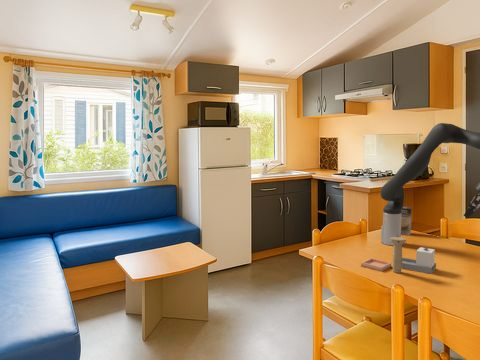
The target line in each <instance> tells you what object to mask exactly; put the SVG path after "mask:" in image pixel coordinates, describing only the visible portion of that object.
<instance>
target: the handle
mask: <svg viewBox="0 0 480 360" xmlns="http://www.w3.org/2000/svg"><path fill="white" fill-rule="evenodd" d="M390 241H391V242H392V243H394V245H393V250H392V262H391V264H392V271H393V273H395V274H400V273H402V269H403V268H402V257H403V244H405V243H406V242H407V239H406V238H405V237H402V236H401V237H391V238H390Z"/></svg>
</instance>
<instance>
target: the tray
mask: <svg viewBox="0 0 480 360" xmlns="http://www.w3.org/2000/svg"><path fill="white" fill-rule="evenodd" d="M360 267H361V268H362V267H363V268H365V269H366V268H367V269H370V270H373V271H378V272H384V271H386V270H388V269H389V268H391V267H392V262H390V261H385V260H381V259H377V258H373V257H369V258H368V259H366V260H363V261H361V264H360Z"/></svg>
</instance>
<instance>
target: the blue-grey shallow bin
mask: <svg viewBox="0 0 480 360" xmlns="http://www.w3.org/2000/svg"><path fill="white" fill-rule="evenodd" d="M436 267H437V263H436V262H434V266H433V267H432V268H429V267H423V266H418V265H416V259H413V258H409V257H408V258H407V257H403V256H402V268H401V269H403V270H407V271H408V270H410V271H415V272H419V273H426V274H431V275H432V274H433V273H434V271H436V269H437V268H436Z"/></svg>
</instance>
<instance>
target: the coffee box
mask: <svg viewBox="0 0 480 360" xmlns="http://www.w3.org/2000/svg"><path fill="white" fill-rule="evenodd" d="M412 210H413V209H412V206H403V208H402V211H401V236H402V235H405V236H411V231H412V230H411V229H412Z"/></svg>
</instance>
